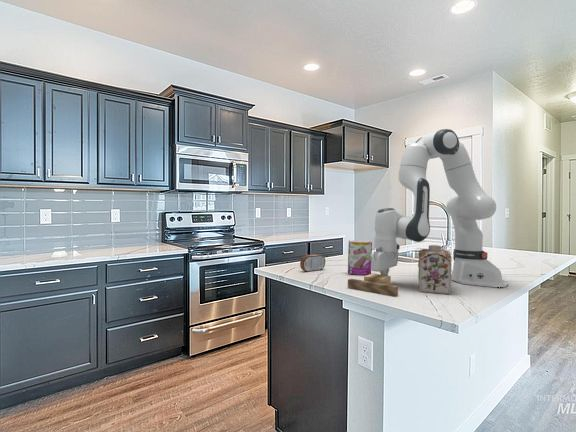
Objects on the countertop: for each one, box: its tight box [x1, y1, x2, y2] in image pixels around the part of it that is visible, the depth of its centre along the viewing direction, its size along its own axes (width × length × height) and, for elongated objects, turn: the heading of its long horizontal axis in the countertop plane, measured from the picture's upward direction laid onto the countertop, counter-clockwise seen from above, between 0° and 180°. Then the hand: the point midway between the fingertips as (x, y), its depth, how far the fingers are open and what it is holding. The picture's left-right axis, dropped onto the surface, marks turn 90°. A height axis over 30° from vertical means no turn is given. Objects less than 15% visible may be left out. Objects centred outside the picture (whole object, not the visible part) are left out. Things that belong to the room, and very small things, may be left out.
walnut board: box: [347, 278, 399, 298], centre depth 133 cm, size 20×2×4 cm, turn 51°
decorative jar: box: [417, 244, 453, 295], centre depth 137 cm, size 12×12×18 cm
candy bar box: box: [347, 240, 373, 276], centre depth 166 cm, size 11×5×16 cm, turn 84°
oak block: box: [363, 272, 391, 285], centre depth 139 cm, size 8×8×5 cm
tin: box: [299, 253, 326, 273], centre depth 174 cm, size 15×3×8 cm, turn 124°
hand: (384, 279), depth 143 cm, fingers closed
